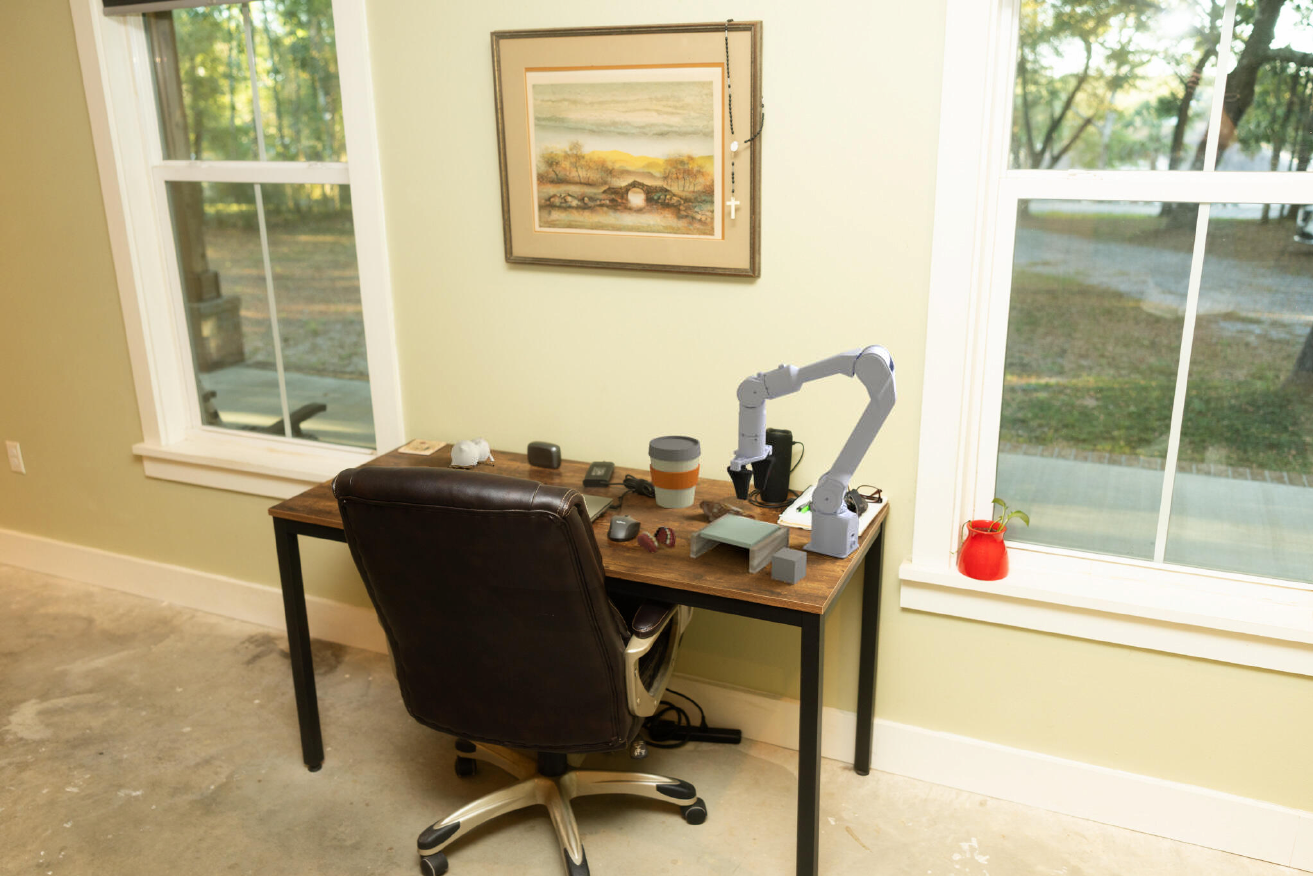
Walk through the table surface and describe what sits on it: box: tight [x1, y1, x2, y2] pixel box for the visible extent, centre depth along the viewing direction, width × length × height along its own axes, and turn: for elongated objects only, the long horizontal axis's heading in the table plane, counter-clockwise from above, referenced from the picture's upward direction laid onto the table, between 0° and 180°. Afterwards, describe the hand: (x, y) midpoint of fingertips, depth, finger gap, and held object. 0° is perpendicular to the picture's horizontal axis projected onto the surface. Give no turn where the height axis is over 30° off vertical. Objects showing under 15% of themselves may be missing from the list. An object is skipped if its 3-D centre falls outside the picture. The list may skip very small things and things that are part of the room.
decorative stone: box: [698, 498, 759, 523], centre depth 219 cm, size 10×4×15 cm
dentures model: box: [636, 526, 677, 553], centre depth 205 cm, size 6×4×8 cm
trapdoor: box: [700, 515, 779, 550], centre depth 200 cm, size 12×12×1 cm
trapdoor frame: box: [689, 514, 791, 574], centre depth 201 cm, size 15×15×5 cm
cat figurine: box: [450, 437, 495, 466], centre depth 260 cm, size 9×11×12 cm
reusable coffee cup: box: [647, 435, 702, 509], centre depth 230 cm, size 13×13×15 cm
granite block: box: [771, 547, 808, 585], centre depth 189 cm, size 5×5×5 cm
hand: (750, 494), depth 206 cm, fingers open, 7 cm apart
